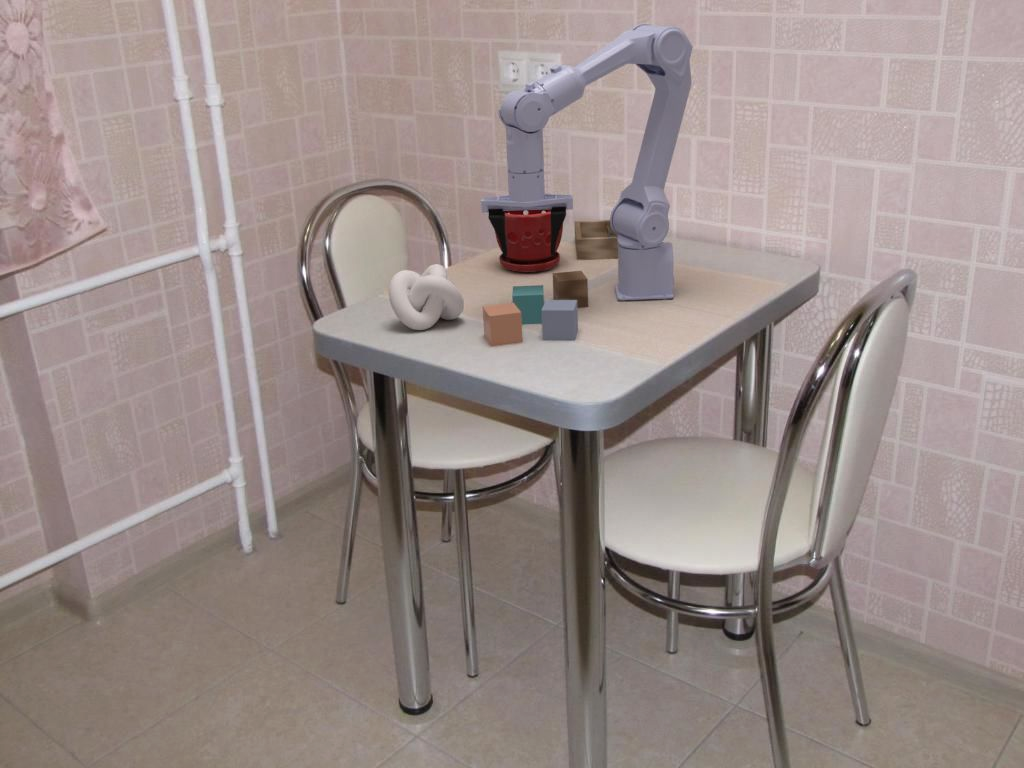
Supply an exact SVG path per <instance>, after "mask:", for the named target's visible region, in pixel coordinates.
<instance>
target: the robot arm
mask: <svg viewBox="0 0 1024 768" xmlns="http://www.w3.org/2000/svg"><path fill="white" fill-rule="evenodd" d="M686 34H687V33H685V32H684V31H683V29H681V28H680V27H677V26H675V25H674V26H673V25H672V26H662V25H660V26H659V25H652V24H651V25H650V24H647V23H640V24H637V25H635V26H634V27H632V28H631V29H628V30H625V31H623V32H622V33H621V34H620V35H619V36H618V37H616V38H615V39H614V40H612V41H611V42H609V43H608V44H607V45H605V46H604V47H602V48H601V49H599V50H597V51H596V52H595V53H593V54H592V55H590V56H589V57H588V58H586V59H585V60H583V61H582V62H580V63H579V64H577V65H576V66H574V67H573V66H571V65H568V64H563V65H560V64H559V65H558V64H555V65H552V66H551V67H550V68H549V70H550V71H549V73H547V74H546V75H544V76H542V77H541V78H539V79H537V80H535V81H529V82H527V83H525V88H524V90H518V89H516V90H513V91H511V92H509V93H508V94H506V95H505V96H504V99H503V100H502V101H501V103H500V109H498V110H497V114H498V118H499V120H500V121H501V123H502V124H503V125H504V127H505V134H506V135H505V137H506V158H507V159H506V161H507V162H506V163H507V164H506V165H507V181H508V183H507V184H508V185H507V186H508V195H502V196H492V197H482V198H481V199H480V206H481V207H480V208H481V209H480V210H481V213H482V214H483V213H484V214H485V213H488V220H489V222H490V225H491V226H492V227H493V230H494V233H495V232H496V234H497V236H498V239H499V242H500V245H501V248H502V251H501V254H502V253H503V256H507V254H508V248H507V239H506V227H505V211H513V210H525V211H527V210H542V209H551V244H550V251H551V255H555V247H556V242H557V238H558V235H559V232H560V229H561V226H562V224H563V225H564V221H565V220H566V216H567V211H568V210H570V211H572V210H574V203H573V202H574V199H573V198H574V197H573V196H574V195H573V194H551V193H550V194H549V193H548V194H546V191H545V190H546V189H545V188H546V187H545V185H546V184H545V165H544V164H545V162H544V161H545V160H544V157H545V156H544V155H545V154H544V133H543V131H544V130H543V129H544V128H545V127H546V126H547V124H548V122H549V120H550V118H551V117H552V116H554V115H555V114H557V113H560V112H561V111H562V110H565V108H567V107H568V106H570V105H572V104H573V103H575V102H577V101H578V100H580V99H581V98H582V97H583V96H584V94H585V93H584V92H585V89H586V87H587V86H589V85H591V84H592V83H594V82H596V81H598V80H599V79H601V78H604V77H605V76H607V75H609V74H610V73H612V72H614V71H616V70H618V69H619V68H622V67H624V66H625V65H628V64H629V65H630V64H632V65H633V64H634V65H636V67H638V68H639V69H641V70H642V71H643V72H644V73H645V74H646V75H647V76H648V78H649V80H650V82H651V83H652V85H653V86H654V94H653V99H652V102H651V106H650V110H649V114H648V118H647V121H646V126H645V130H644V133H643V137H642V141H641V145H640V148H639V149H640V150H639V153H638V156H637V161H636V165H635V169H634V172H633V178H632V180H631V183H630V184H629V185H628V186H626V187H625V188H624V189H623V190H622V191H621V193H620V196H619V199H618V201H617V203H616V204H615V205H614V207H613V208H612V211H610V217H609V220H610V224H611V227H612V229H613V231H614V232H615V233H616V234H617V240H618V258H617V266H618V267H617V273H618V274H617V276H618V280H617V281H618V283H616V284H614V289H615V294H616V299H617V300H618V301H638V300H642V301H643V300H664V299H665V300H668V299H669V300H670V299H674V298H675V297H674V284H675V275H674V264H675V263H674V249H673V243H672V242H670V241H669V242H667V241H664V240H665V239H666V237H667V236H668V233H669V229H670V220H669V211H670V207H671V205H670V202H669V200H668V197H667V196H666V194H665V187H666V183H667V178H668V176H669V171H670V167H671V165H672V159H673V156H674V151H675V149H676V146H677V141H678V138H679V133H680V130H681V126H682V123H683V118H684V114H685V110H686V106H687V103H688V99H689V96H690V91H691V87H692V74H691V63H690V59H691V55H692V52H693V47H694V46H693V44H692V42H691V41H690V39H689V38H688V36H687V35H686ZM496 234H495V235H496Z"/></svg>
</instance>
